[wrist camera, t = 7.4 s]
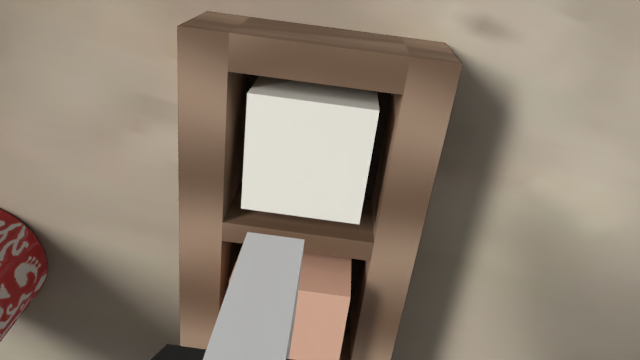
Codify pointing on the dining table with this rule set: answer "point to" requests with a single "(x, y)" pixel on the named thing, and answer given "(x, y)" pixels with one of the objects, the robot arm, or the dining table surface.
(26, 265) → the mug
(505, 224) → the dining table surface
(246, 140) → the key ivory
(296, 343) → the key terracotta
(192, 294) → the wooden compartment tray
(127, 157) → the dining table surface
